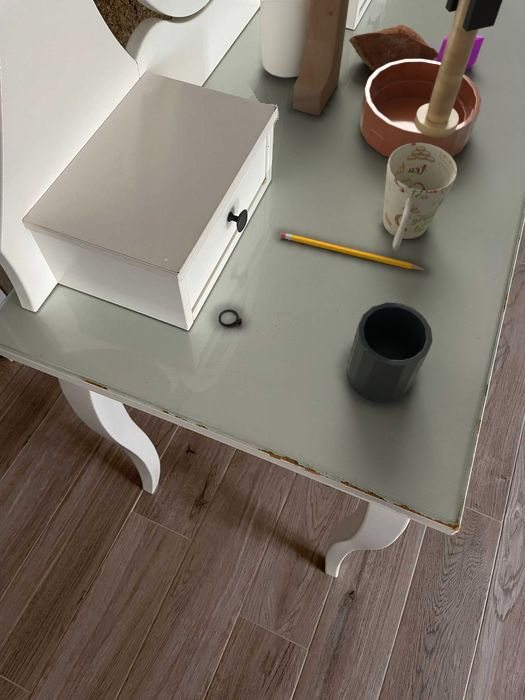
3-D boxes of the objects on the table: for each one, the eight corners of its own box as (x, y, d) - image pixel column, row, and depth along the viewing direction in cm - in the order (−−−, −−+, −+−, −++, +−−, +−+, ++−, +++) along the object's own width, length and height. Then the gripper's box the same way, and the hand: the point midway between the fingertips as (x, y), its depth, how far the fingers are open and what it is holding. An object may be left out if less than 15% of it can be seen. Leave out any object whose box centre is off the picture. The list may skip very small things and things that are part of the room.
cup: (291, 92, 93) (296, 2, 80) (249, 72, 95) (248, -19, 83) (321, 65, 96) (330, -25, 84) (280, 46, 98) (283, -44, 86)
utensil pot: (423, 390, 67) (445, 351, 59) (363, 411, 66) (377, 374, 58) (394, 336, 70) (411, 294, 63) (336, 355, 69) (346, 314, 61)
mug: (440, 207, 81) (461, 150, 72) (424, 277, 75) (446, 224, 66) (381, 194, 82) (395, 136, 73) (361, 261, 76) (374, 207, 67)
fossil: (450, 53, 92) (429, 5, 84) (424, 99, 92) (400, 56, 84) (386, 48, 100) (361, 4, 92) (362, 90, 100) (335, 50, 93)
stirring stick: (464, 132, 61) (549, -103, 43) (426, 142, 60) (497, -93, 42) (444, 106, 63) (517, -129, 45) (407, 115, 62) (466, -120, 44)
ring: (215, 324, 72) (236, 332, 71) (214, 319, 71) (235, 327, 70) (225, 309, 73) (246, 318, 72) (224, 304, 72) (245, 313, 71)
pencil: (282, 234, 78) (282, 231, 78) (423, 268, 76) (425, 265, 75) (280, 238, 78) (280, 235, 77) (422, 273, 75) (424, 270, 75)
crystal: (455, 49, 98) (463, 22, 94) (478, 66, 96) (488, 39, 92) (433, 60, 97) (440, 34, 93) (456, 77, 95) (465, 51, 91)
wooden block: (319, 117, 90) (331, -2, 74) (292, 109, 91) (298, -10, 75) (338, 83, 94) (354, -37, 78) (312, 76, 95) (323, -44, 79)
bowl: (488, 151, 86) (502, 117, 81) (388, 179, 83) (396, 145, 78) (435, 84, 94) (445, 49, 89) (341, 107, 91) (346, 72, 86)
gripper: (470, -440, 34) (393, -21, 55) (635, -380, 27) (475, 77, 48) (578, -448, 36) (463, -35, 56) (764, -392, 28) (554, 58, 49)
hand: (469, 16), depth 52 cm, fingers closed on stirring stick, 2 cm apart
